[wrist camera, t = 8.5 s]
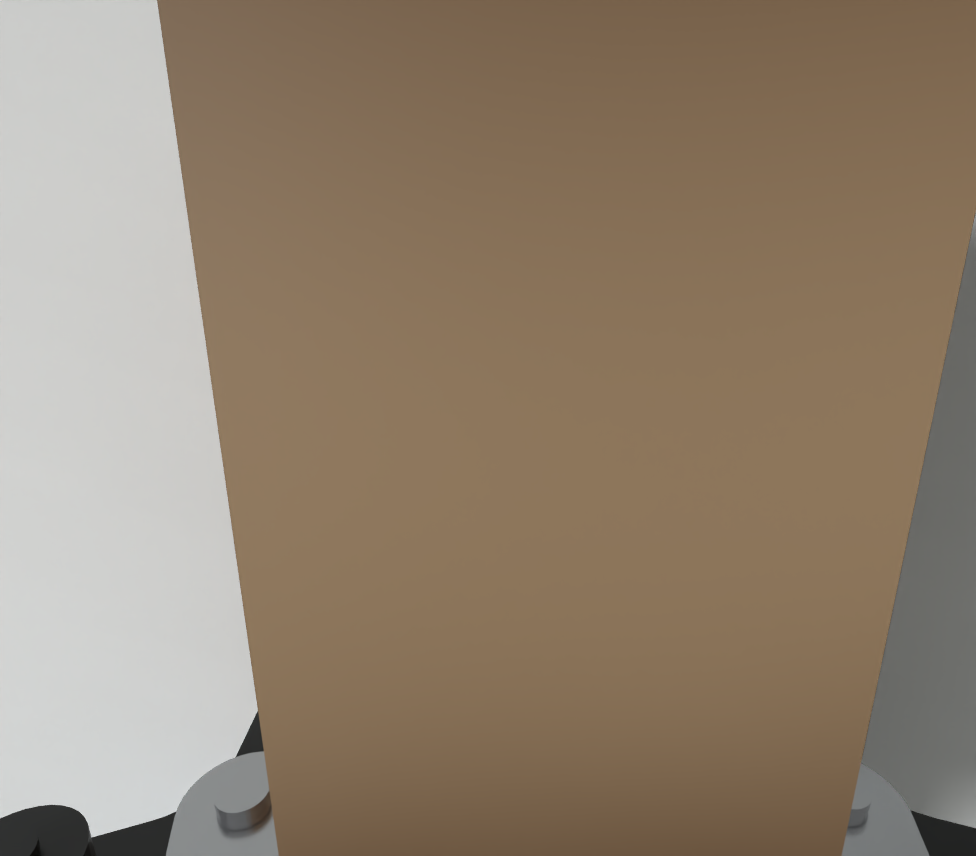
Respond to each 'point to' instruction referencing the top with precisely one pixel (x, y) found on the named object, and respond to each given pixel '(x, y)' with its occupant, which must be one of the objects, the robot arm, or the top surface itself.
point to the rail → (572, 400)
